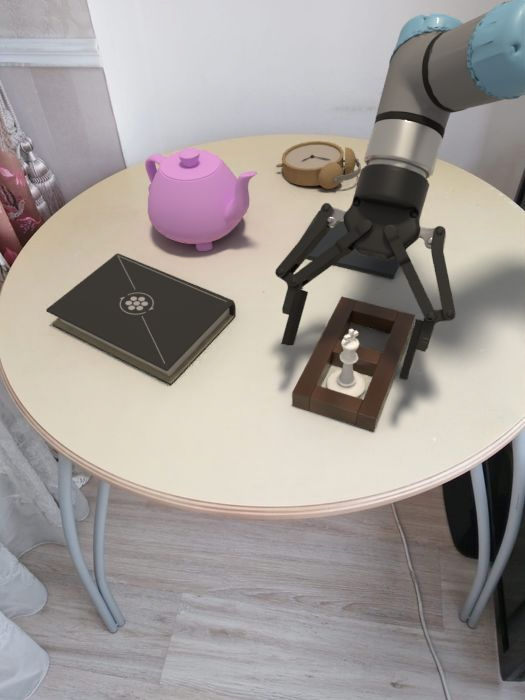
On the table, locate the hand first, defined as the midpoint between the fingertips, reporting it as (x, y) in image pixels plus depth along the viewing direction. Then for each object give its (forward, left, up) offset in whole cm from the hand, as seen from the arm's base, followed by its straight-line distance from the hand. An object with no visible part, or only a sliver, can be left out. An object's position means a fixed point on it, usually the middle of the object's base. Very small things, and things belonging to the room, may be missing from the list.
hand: (343, 361), depth 63 cm
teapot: (+32, -25, -7) cm, 41 cm away
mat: (+8, -30, -7) cm, 32 cm away
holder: (0, -6, -7) cm, 10 cm away
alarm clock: (+20, -48, -7) cm, 53 cm away
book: (+30, -3, -7) cm, 31 cm away
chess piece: (0, -2, -7) cm, 8 cm away
